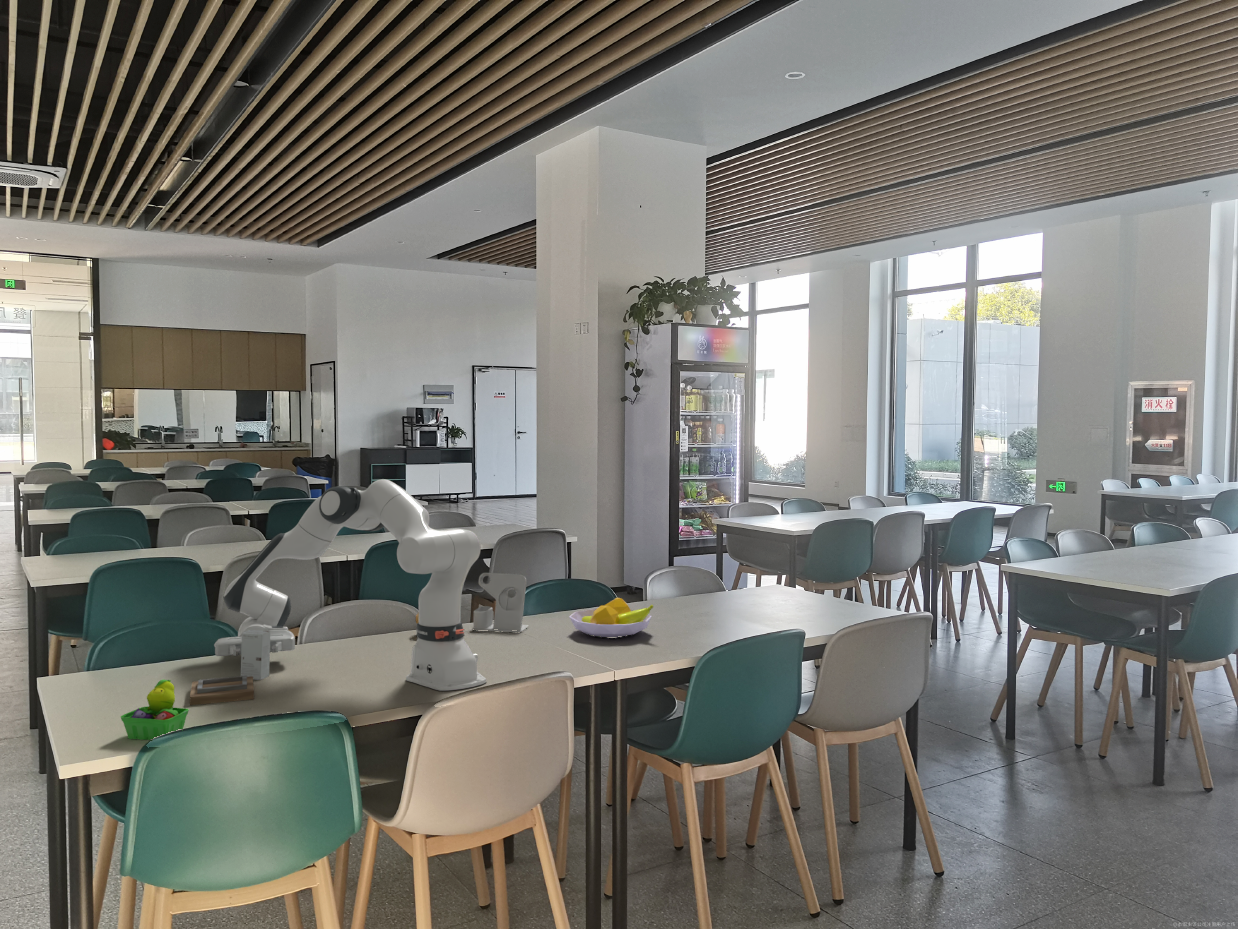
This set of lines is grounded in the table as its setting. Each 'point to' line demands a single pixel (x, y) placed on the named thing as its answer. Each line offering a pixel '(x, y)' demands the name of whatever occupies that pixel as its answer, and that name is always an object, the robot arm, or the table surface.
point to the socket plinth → (222, 690)
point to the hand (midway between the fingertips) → (256, 651)
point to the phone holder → (502, 603)
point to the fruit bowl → (611, 619)
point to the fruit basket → (155, 714)
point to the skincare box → (255, 654)
